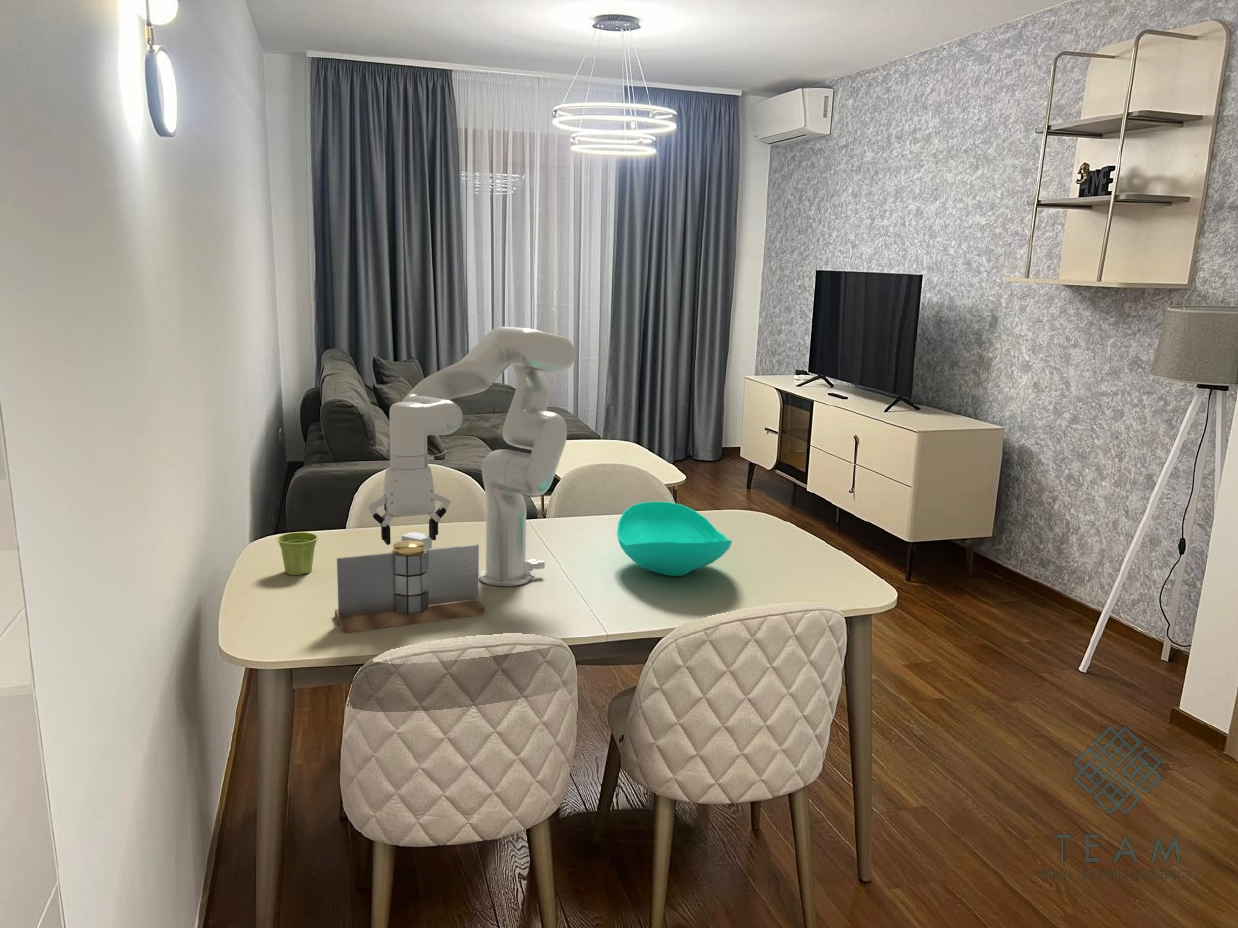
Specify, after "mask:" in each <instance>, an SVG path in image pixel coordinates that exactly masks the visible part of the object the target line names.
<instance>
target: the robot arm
mask: <svg viewBox="0 0 1238 928" xmlns="http://www.w3.org/2000/svg"><path fill="white" fill-rule="evenodd" d="M575 354H576V353H575V348H574V345H573V343H572V342H571V340H569V338H568V337H566V336H563V335H559V334H554V333H549V332H544V331H542V330H536V329H532V328H526V327H514V326H498V327H495V328H493V329H491V330H490V331H489V332H487V334H485V336H483V337H482V338H481V340H480V341H478V343H477V344H475V346H474V347H473V348H472V349H470V351H469V352H467V354H466V355H465V356H464V357H463V358H462V359H461V360H459V361H458V362H455V363H454V364H451V365H449V366H447V367H445V368H442V369H441V370H437V372H435V373H432V374H430V375H428V376H427V377H425V378H423V379H422V380H420V381H419V383H417V384H416V385H415V386H414V387H413V388H412V389H411V390H410V391H409V392H408V393H407V394H406V396H405V397H404V398H403V399H402V401H400V402H395V403H393V404H391V405H390V408H389V455H390V459H389V462H390V463H389V464H390V466H389V467H386V470H385V475H384V483H383V495H382V496H381V497H379V498H378V499H376V500H375V501H373V502H371V503H369V504H368V505H367V509H368V511H369V513H370V515H371V517H372V518H373V519H374V520H375V521H377V523H378V524H380V532H381V533H380V535H381V537H380V538H381V540H382V541H383V542H384V543H385V545H387V546H390V545H391V527H390V525H389V524H390V523H391V521H392V520H393V519H394V518H402V517H411V516H413V517H414V516H424V515H428V516H429V517H430V518H429V519H428V535H429V537H430V538H431V539H432V541H436V540H437V536H438V535H439V522H441V518H443V516H444V515H445V514H446V513H447V510H448V508H449V507H450V504H451V503H452V502H451V500H450V498H448V497H445V496H443V495H440V494H439V493H437V492H435V487H434V479H433V474H432V469H431V467H430V466H429V464H430V463H431V462H435V455H434V454H429V453H428V436H446V435H447V436H448V435H450V434H452V433H454V432H456V431H458V429H459V428H460V427H461V425H462V423H463V417H464V415H463V411H462V409H461V407H460V406H459V405H458V404H457V403H455V402H454V401H452V399H457V398H460V397H461V398H462V397H467V396H470V395H476V394H478V393H479V394H480V393H482V392H484V391H486V390H488V389H489V387H491V385H493V383H495V381H496V380H497V379H498V378H500V376H501V375H502V374H503V373H504V372H505V371H506V369H508V368H509V367H510V366H512V368H513V369H514V374H515V377H516V388H515V391H514V395H513V398H512V401H511V403H510V406H509V409H508V412H507V415H506V418H505V421H504V423H503V426H502V438H503V440H504V442H506V444H508V445H510V446H513V447H515V448H516V447H517V448H520V449H526V450H530V451H531V453H529V452H528V453H527V452H522V451H515V450H512V449H505V448H504V449H496V450H492V451H491V452H489V453H488V454H487V455H486V456H485V457H484V459H483V462H482V465H481V466H482V467H481V476H482V481H483V482H482V483H483V485H484V491H485V503H486V504H485V507H486V508H485V509H486V510H485V513H486V516H485V517H486V518H485V521H486V522H485V523H486V524H485V531H486V532H485V534H486V535H485V546H486V547H485V569H482V571H480V573H479V581H481V582H482V583H484V584H487V585H490V586H496V587H513V586H515V587H516V586H522V585H524V584H527V583H528V582H530V581H531V580H532V579H533V577H532V576H533V573H532V571H533V570H541V569H542V570H543V569H545V567H546V566H545V561H544V560H538V561H537V560H536V559H530V560H529V559H527V558H526V550H527V549H526V547H527V546H526V545H527V544H526V543H527V542H526V541H527V537H526V536H527V505H526V501H525V498H524V496H523V495H526V496H535V497H538V496H542V495H544V494H545V493H546V492H547V491H549V489H550V487H551V485H552V483H553V480H554V478H555V475H556V472H557V469H558V466H559V463H560V460H561V458H562V455H563V452H564V449H565V446H566V441H567V436H568V429H567V423H566V421H565V419H564V418H563V417H562V416H561V415H560V414H558V413H556V412H552V411H547V410H548V406H549V403H550V400H551V393H552V391H551V386H550V383H549V380H548V378H547V376H546V373H545V372H550V373H551V372H552V373H564V372H565V371H568V369H570V368H571V367H572V365H573V362H574V361H575V356H576V355H575ZM436 501H438V502H440V503H441V504H440V507H439V508H438V509H437V510H436V511H435V509H436V508H435V507H436ZM382 506H383V511H384V513H383V514H382V516H381V514H379V512H378V511H377V510H378V508H380V507H382Z"/></svg>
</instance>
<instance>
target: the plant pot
mask: <svg viewBox="0 0 1238 928" xmlns="http://www.w3.org/2000/svg"><path fill="white" fill-rule="evenodd" d="M318 539H319V536H318V535H317V534H316V533H313V532H307V531H296V532H288V533H284V534H281V535H279V536H277V538H276V541H277V542H278V544H279V547H280V549H281V556H282V560H283V567H284V572H285V573H286V574H288V575H289V576H302V575H303V574H306V575H308V574H310V573H311V572H312V570H313V564H314V563H313V562H314V556H315V547H316V544H317V541H318ZM307 573H308V574H307Z"/></svg>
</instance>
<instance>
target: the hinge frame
mask: <svg viewBox="0 0 1238 928" xmlns="http://www.w3.org/2000/svg"><path fill="white" fill-rule="evenodd" d="M427 570H428V551H427V550H426V548H424V553H422V554H420V555H415V556H400V555H396V554H394V553H393V550H391V552H385V553H376V554H366V555H365V554H364V555H356V556H355V555H354V556H344V557H337V558H336V577H337V579H336V580H337V583H336V584H337V609H338V617H339V618H346V617H354V616H362V615H370V614H377V613H385V612H393V611H394V612H395V613H398V614H404V615H413V614H421V613H423V612H425V611H426V610H428V609H429V591H428V590H427V591H425V592H424V593H421V594H416V595H402V594H396V593H394V573H396V574H402V575H415V574H420V573H424V572H425V571H427Z"/></svg>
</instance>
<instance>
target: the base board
mask: <svg viewBox="0 0 1238 928" xmlns="http://www.w3.org/2000/svg"><path fill="white" fill-rule="evenodd" d="M481 615H486V607H485V606H484V605H483V604H482V603H481V601H479V599H475V600H467V601H459V602H451V603H443V604H435V605H429V609H428V610H426V611H425V612H423V613H421V614H413V615H404V614H398V613H395V612H394V611H393V612H385V613H377V614H370V615H362V616H354V617H346V618H339V617H338V608H336V609H334V617H335V620H336V621H337V623H338V625H339V627H340V629H341V631H342V633H343V634H346V633H353V632H363V631H367V630H368V631H369V630H375V629H376V630H377V629H382V628H391V627H392V628H393V627H399V626H406V625H407V626H408V625H414V624H419V623H420V624H422V623H428V622H435V621H436V622H437V621H442V620H451V619H461V618H465V617H473V616H481Z"/></svg>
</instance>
